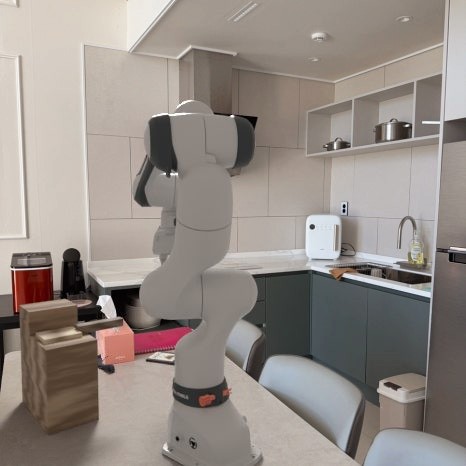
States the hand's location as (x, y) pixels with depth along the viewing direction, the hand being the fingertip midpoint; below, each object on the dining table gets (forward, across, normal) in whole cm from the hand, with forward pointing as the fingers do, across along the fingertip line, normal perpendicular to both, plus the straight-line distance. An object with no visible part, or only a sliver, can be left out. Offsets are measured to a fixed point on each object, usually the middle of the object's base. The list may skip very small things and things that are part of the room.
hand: (173, 269), depth 133 cm
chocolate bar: (+30, -16, +14) cm, 37 cm away
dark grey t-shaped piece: (+32, -27, -9) cm, 43 cm away
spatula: (+17, 0, -26) cm, 31 cm away
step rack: (+37, -6, -28) cm, 47 cm away
